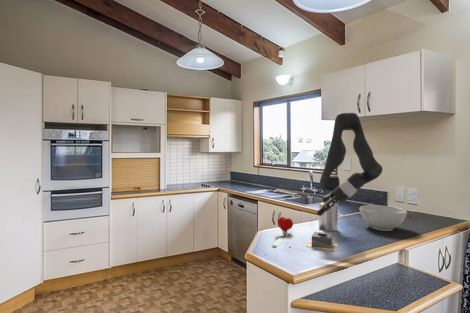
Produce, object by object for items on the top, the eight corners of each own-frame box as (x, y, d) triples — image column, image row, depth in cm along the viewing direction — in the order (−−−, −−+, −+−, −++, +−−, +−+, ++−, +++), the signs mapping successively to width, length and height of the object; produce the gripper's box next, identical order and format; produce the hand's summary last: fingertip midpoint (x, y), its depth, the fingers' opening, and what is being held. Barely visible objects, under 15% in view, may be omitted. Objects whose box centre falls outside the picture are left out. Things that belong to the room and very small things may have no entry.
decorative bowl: (351, 228, 194) (352, 208, 194) (368, 221, 213) (369, 203, 213) (398, 237, 175) (398, 215, 175) (412, 228, 194) (412, 209, 194)
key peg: (319, 228, 157) (319, 202, 156) (326, 229, 156) (327, 203, 155) (318, 230, 154) (318, 204, 153) (325, 231, 152) (326, 204, 152)
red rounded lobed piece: (295, 235, 176) (295, 218, 175) (288, 238, 170) (289, 220, 170) (281, 232, 182) (281, 215, 181) (274, 234, 177) (274, 217, 176)
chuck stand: (309, 242, 164) (310, 229, 164) (337, 245, 159) (338, 233, 158) (305, 250, 151) (305, 236, 151) (335, 254, 146) (336, 240, 145)
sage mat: (279, 239, 168) (279, 237, 168) (301, 242, 164) (301, 240, 164) (272, 246, 155) (272, 244, 155) (296, 250, 151) (296, 248, 151)
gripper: (340, 183, 157) (315, 205, 163) (338, 186, 144) (311, 210, 149) (351, 194, 156) (325, 216, 161) (350, 199, 143) (322, 222, 148)
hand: (318, 213), depth 155 cm, fingers closed on key peg, 3 cm apart
